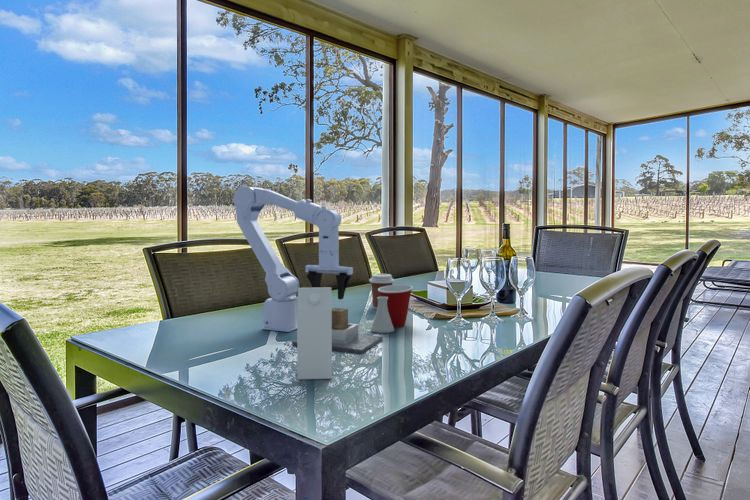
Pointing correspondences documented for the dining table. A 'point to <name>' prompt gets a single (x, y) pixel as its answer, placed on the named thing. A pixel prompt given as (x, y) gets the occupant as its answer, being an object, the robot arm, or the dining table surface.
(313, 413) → the dining table surface
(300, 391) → the dining table surface
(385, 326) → the flask
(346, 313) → the walnut rail post
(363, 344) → the post socket base
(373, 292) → the coffee cup
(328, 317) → the milk carton
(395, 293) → the plastic cup
